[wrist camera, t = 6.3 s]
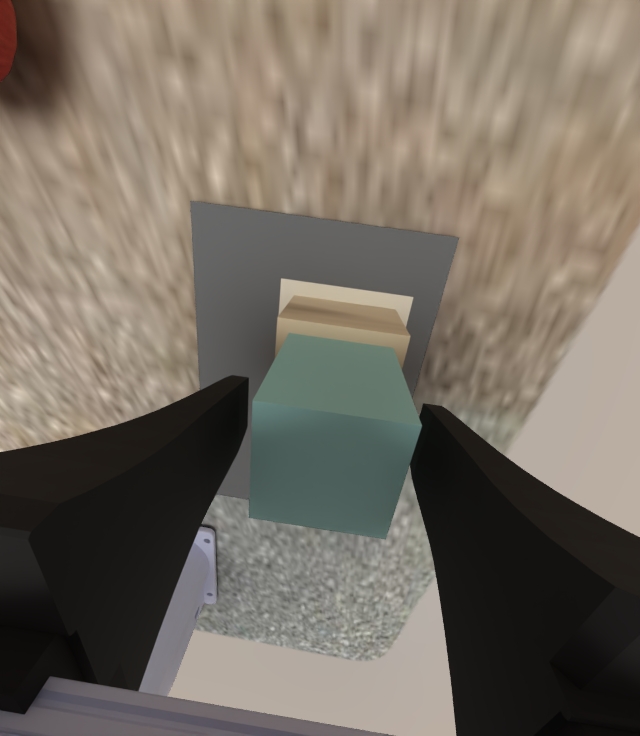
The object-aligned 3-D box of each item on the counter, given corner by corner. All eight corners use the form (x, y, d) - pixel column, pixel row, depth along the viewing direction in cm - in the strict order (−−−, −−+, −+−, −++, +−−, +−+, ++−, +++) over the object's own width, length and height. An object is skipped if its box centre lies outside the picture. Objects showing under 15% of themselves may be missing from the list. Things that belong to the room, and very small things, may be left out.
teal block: (372, 433, 13) (385, 539, 9) (281, 419, 14) (249, 517, 9) (393, 347, 12) (422, 425, 7) (289, 332, 12) (252, 400, 7)
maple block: (375, 397, 17) (382, 443, 14) (286, 383, 17) (270, 426, 14) (395, 309, 15) (410, 336, 11) (294, 295, 15) (277, 317, 12)
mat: (375, 513, 22) (376, 519, 21) (208, 487, 22) (205, 492, 22) (455, 237, 14) (459, 237, 14) (195, 201, 14) (190, 200, 14)
